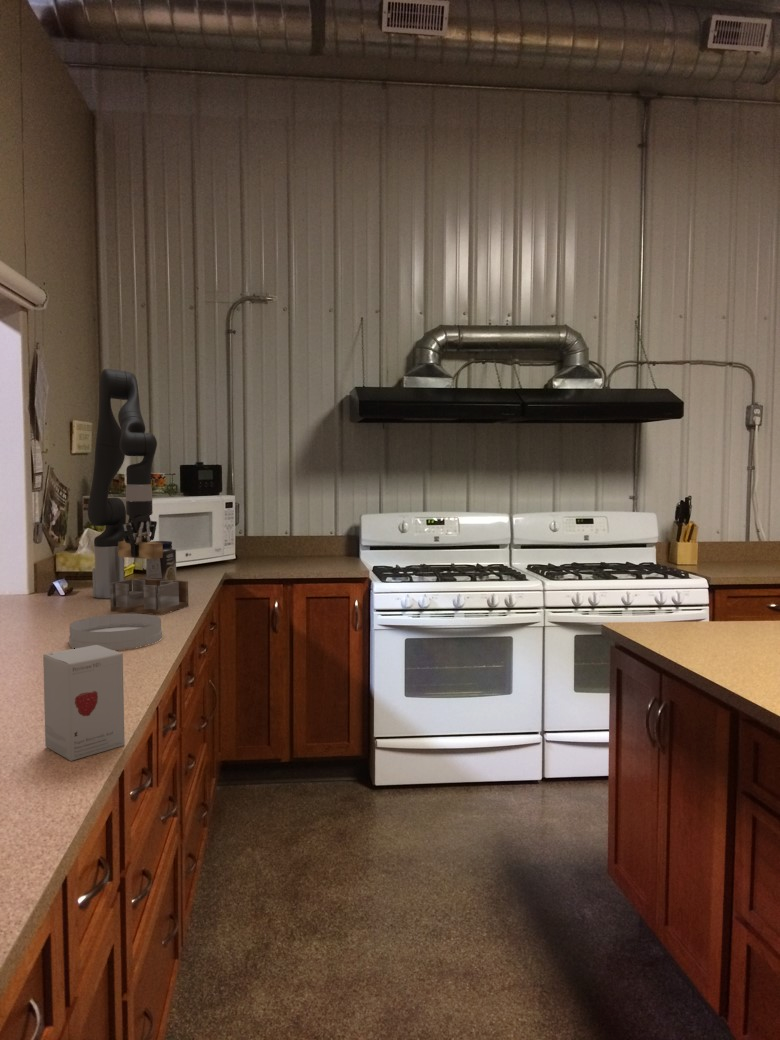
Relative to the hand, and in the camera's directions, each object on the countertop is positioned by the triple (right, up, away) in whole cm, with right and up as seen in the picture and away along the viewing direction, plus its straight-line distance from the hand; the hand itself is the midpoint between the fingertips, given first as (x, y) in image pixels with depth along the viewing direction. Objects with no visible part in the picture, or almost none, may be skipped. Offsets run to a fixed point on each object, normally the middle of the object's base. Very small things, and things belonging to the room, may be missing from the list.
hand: (140, 555), depth 224 cm
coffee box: (0, -15, +22) cm, 27 cm away
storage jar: (-12, -13, +58) cm, 61 cm away
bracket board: (+2, -17, +4) cm, 17 cm away
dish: (+7, -20, -37) cm, 42 cm away
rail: (0, 0, 0) cm, 0 cm away
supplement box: (+28, -25, -108) cm, 114 cm away
